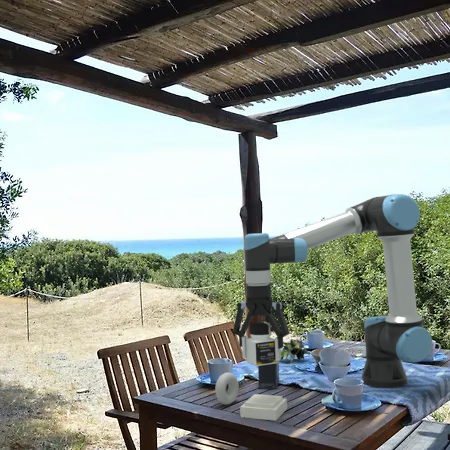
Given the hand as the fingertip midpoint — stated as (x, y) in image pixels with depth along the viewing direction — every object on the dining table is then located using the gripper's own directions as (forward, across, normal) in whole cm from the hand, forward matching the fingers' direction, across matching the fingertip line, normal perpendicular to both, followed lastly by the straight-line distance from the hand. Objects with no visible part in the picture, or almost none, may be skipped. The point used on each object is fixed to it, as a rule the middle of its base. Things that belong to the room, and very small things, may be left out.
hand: (261, 358), depth 164 cm
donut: (+17, +14, -5) cm, 22 cm away
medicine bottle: (+1, 0, 0) cm, 1 cm away
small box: (+17, +8, -29) cm, 34 cm away
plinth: (+16, 0, 0) cm, 16 cm away
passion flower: (+17, +9, -64) cm, 67 cm away
